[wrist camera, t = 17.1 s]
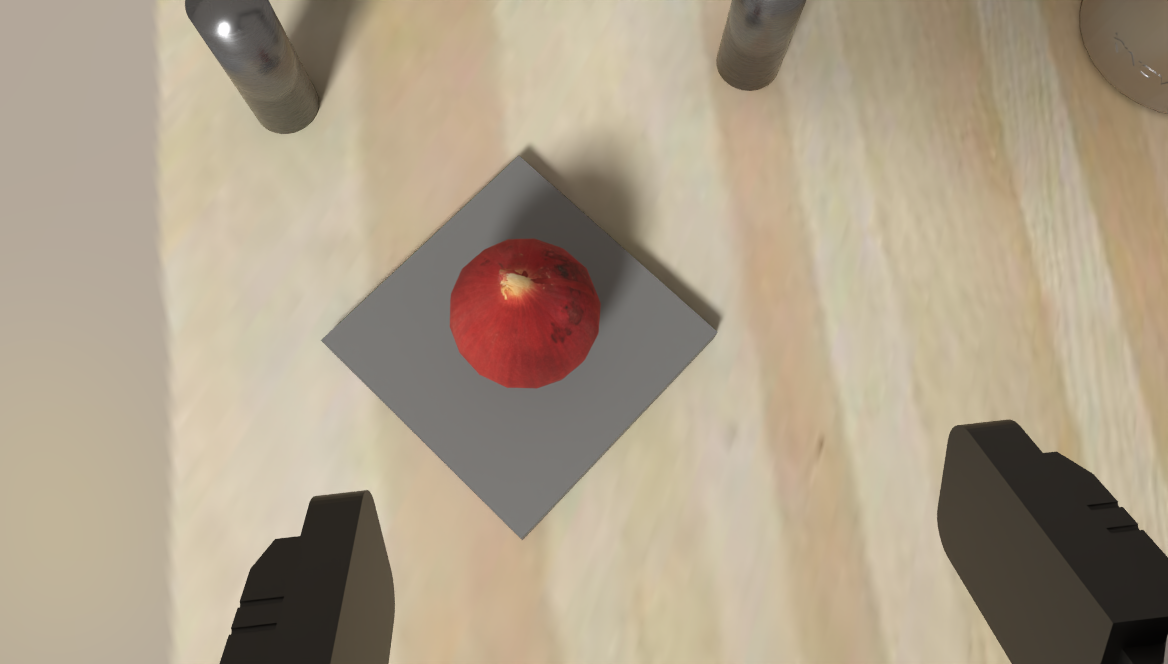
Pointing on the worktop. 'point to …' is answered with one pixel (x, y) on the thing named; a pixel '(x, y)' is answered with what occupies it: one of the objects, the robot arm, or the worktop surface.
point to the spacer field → (290, 102)
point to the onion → (524, 313)
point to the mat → (518, 415)
